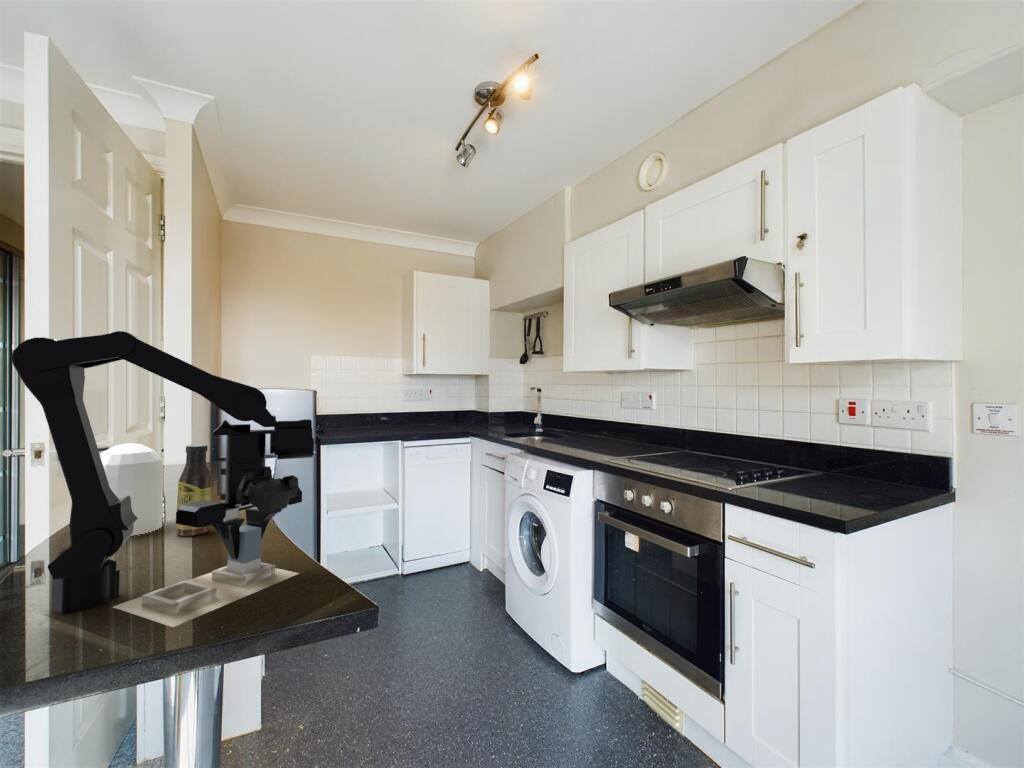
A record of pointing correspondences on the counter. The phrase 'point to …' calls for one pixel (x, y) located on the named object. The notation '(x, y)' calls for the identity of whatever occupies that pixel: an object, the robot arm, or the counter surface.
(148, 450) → the container
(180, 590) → the socket dock
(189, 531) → the sauce bottle
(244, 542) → the plug
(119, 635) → the counter surface
